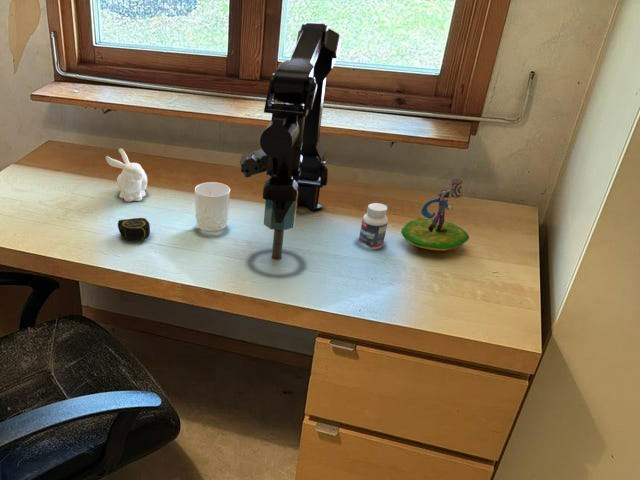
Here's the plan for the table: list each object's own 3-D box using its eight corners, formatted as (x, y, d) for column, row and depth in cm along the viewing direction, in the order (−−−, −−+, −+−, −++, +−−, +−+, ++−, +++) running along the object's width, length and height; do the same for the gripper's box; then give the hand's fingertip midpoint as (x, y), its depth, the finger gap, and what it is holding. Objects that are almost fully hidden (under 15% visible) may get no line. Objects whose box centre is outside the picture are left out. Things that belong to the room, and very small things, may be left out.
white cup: (226, 239, 154) (228, 197, 148) (191, 236, 155) (191, 195, 149) (230, 224, 160) (232, 183, 154) (197, 221, 162) (197, 180, 155)
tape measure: (147, 229, 159) (146, 214, 156) (152, 243, 153) (152, 227, 151) (118, 232, 158) (117, 217, 156) (122, 246, 152) (121, 230, 150)
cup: (282, 214, 143) (285, 182, 139) (300, 225, 139) (303, 193, 135) (258, 220, 141) (261, 188, 137) (275, 232, 137) (278, 199, 132)
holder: (282, 246, 151) (285, 213, 146) (313, 268, 143) (317, 233, 138) (239, 258, 147) (241, 224, 142) (269, 281, 139) (272, 246, 134)
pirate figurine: (398, 256, 146) (412, 189, 137) (398, 229, 156) (411, 166, 147) (467, 263, 143) (486, 195, 134) (463, 236, 153) (480, 171, 144)
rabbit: (144, 205, 169) (142, 157, 162) (106, 204, 170) (103, 157, 163) (150, 185, 179) (149, 140, 172) (114, 184, 180) (111, 139, 173)
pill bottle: (353, 243, 151) (359, 205, 146) (368, 236, 154) (375, 199, 148) (372, 252, 148) (379, 214, 143) (388, 245, 150) (395, 207, 145)
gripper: (250, 120, 138) (246, 193, 148) (237, 154, 124) (233, 233, 133) (306, 123, 136) (298, 197, 146) (300, 158, 122) (292, 237, 131)
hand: (280, 215), depth 139 cm, fingers closed on cup, 6 cm apart
